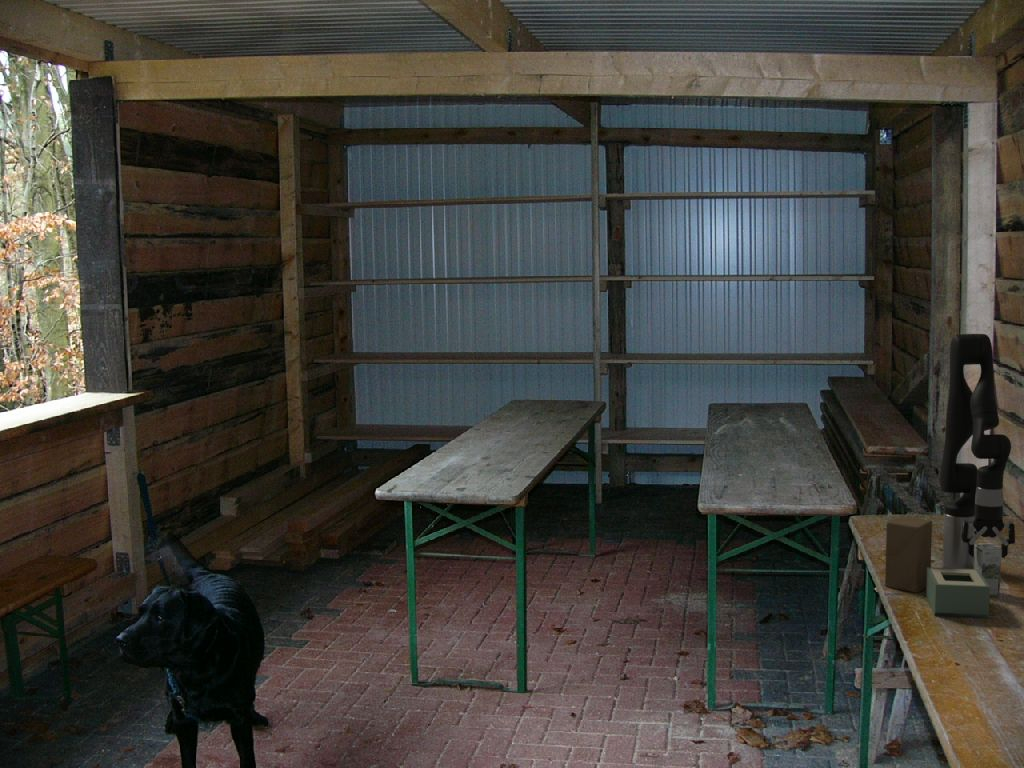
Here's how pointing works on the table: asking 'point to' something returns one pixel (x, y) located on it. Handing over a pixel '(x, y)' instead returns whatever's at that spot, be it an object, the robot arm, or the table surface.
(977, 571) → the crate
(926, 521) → the wooden block
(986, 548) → the syrup box
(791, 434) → the table surface
